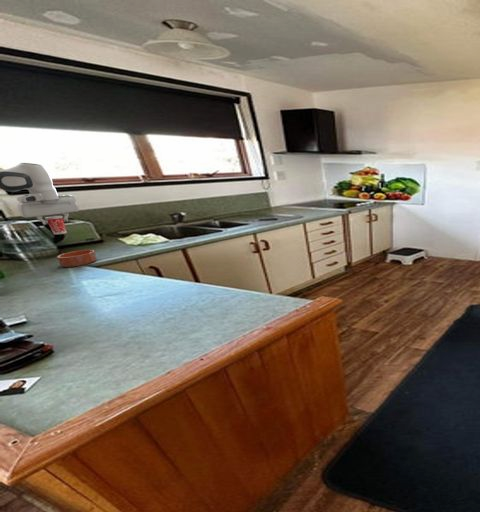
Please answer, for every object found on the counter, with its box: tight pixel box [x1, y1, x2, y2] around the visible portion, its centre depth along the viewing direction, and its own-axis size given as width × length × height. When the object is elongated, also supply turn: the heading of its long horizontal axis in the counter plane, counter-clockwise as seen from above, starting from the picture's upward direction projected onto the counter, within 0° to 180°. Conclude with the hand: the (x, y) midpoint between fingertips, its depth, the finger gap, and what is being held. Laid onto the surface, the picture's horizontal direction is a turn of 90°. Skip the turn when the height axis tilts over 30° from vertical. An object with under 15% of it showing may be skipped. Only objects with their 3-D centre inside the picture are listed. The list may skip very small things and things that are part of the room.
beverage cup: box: [44, 214, 68, 235], centre depth 143 cm, size 6×6×14 cm
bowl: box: [56, 249, 98, 268], centre depth 144 cm, size 13×13×6 cm
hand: (56, 223), depth 143 cm, fingers closed on beverage cup, 6 cm apart
